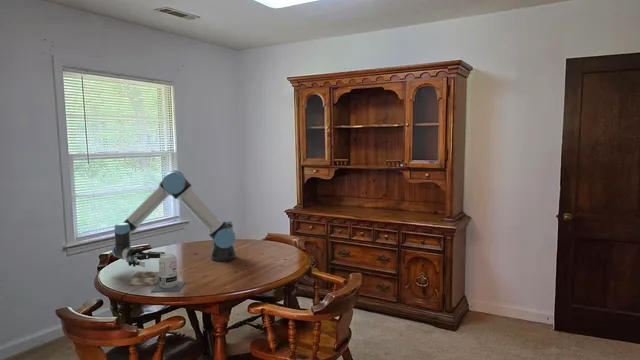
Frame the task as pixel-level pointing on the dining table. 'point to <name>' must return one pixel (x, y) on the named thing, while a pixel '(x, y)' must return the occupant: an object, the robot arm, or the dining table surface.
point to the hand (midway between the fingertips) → (156, 261)
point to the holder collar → (145, 278)
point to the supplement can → (168, 271)
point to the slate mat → (173, 289)
